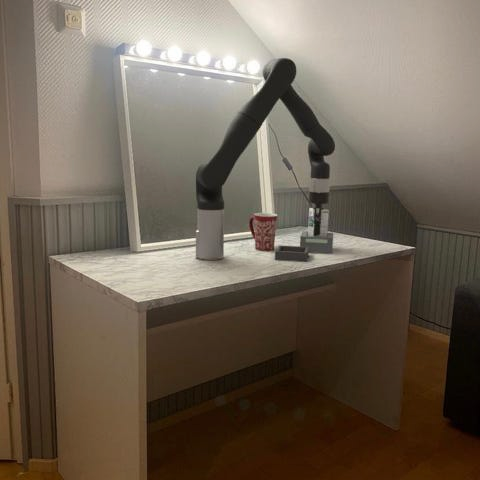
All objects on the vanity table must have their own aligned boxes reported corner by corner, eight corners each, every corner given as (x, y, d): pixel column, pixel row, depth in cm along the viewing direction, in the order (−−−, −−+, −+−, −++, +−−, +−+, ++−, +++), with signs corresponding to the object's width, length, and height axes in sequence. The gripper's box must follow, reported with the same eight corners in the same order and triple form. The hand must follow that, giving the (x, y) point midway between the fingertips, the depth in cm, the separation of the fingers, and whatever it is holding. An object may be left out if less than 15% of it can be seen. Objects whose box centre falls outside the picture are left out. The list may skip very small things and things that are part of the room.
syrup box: (306, 245, 191) (308, 207, 189) (320, 244, 193) (321, 207, 191) (313, 247, 186) (315, 209, 183) (327, 247, 188) (329, 209, 186)
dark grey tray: (274, 259, 172) (275, 251, 171) (278, 253, 182) (278, 245, 182) (306, 261, 170) (306, 253, 169) (308, 255, 180) (308, 247, 180)
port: (299, 252, 185) (300, 236, 184) (302, 246, 197) (302, 231, 196) (332, 254, 183) (333, 238, 182) (332, 247, 195) (333, 232, 194)
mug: (281, 249, 190) (282, 214, 187) (264, 252, 184) (265, 216, 181) (258, 244, 199) (259, 211, 196) (242, 247, 193) (242, 212, 190)
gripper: (310, 188, 193) (308, 229, 196) (308, 191, 180) (306, 235, 183) (329, 189, 192) (327, 230, 195) (329, 192, 178) (326, 236, 181)
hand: (317, 233), depth 189 cm, fingers closed on syrup box, 8 cm apart
